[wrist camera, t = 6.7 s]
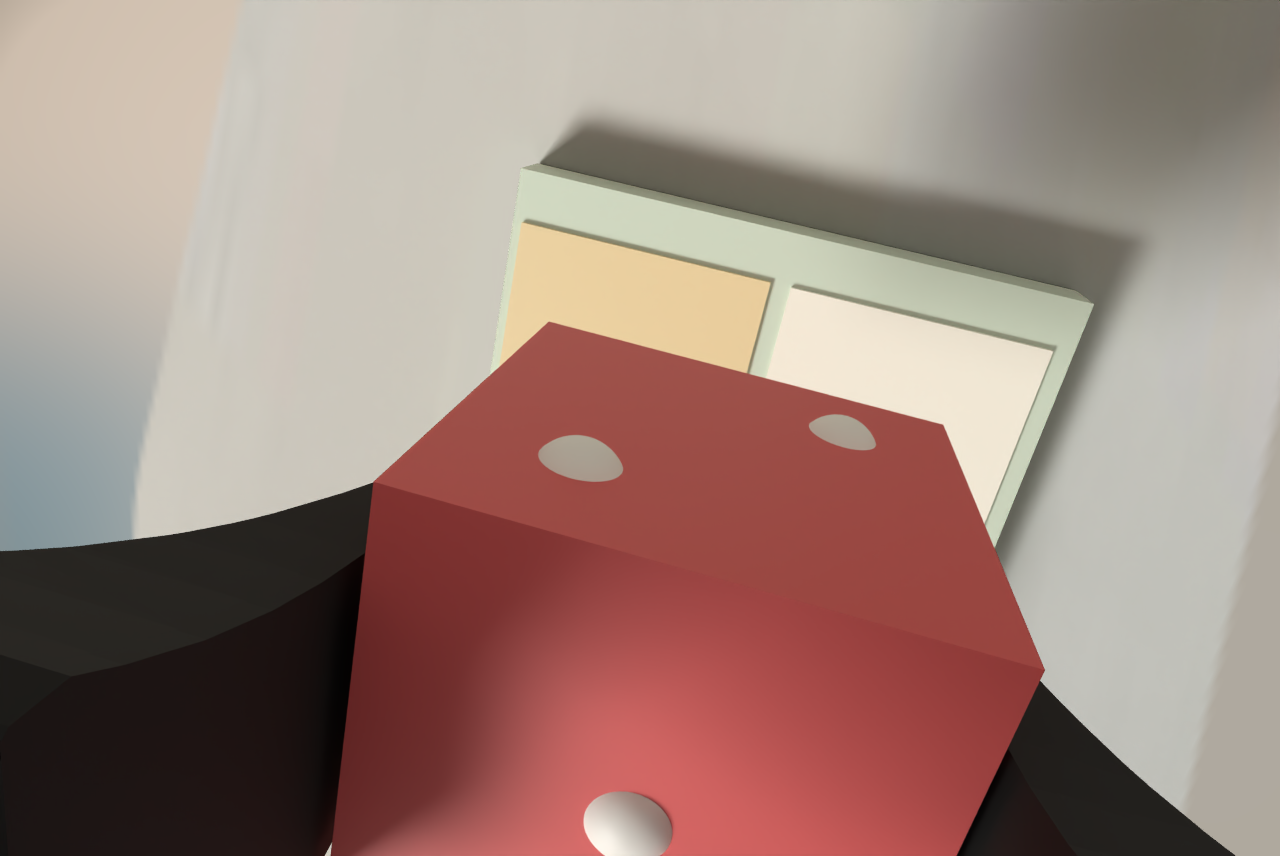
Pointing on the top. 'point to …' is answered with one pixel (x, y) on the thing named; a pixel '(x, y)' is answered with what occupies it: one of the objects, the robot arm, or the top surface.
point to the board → (798, 313)
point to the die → (675, 623)
